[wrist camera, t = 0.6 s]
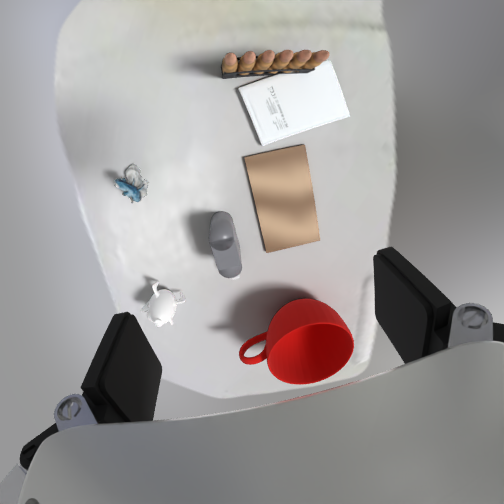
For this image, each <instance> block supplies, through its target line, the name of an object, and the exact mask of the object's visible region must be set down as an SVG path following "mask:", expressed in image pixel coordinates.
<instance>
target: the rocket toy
mask: <svg viewBox="0 0 504 504" xmlns="http://www.w3.org/2000/svg"><path fill="white" fill-rule="evenodd" d="M158 284H159V282H156V283H155V284H153V285H152V288H153V291H154V294H153V295H152V297H151V299H150V300H149V301H148V302H147V303H146V305H145V306H144V307H143V308H142V310H141V312H146V311H148V312H147V318H148V319H149V320H150V321H152V322H154V324H155V325H156V326H157V327H160V326H162V325H163V324H165V323H167V322H168V321H169V322H170V324H171V325H173V316H174V314H175V312H176V308H177V304H180V303H184V302H185V301H186V299H185V297H184V295H183V293H182V292H180V294H181V298H180V299H178V300H176V298H175V296H174V294H173V293H172V292H171V291H169V290H166V289H162V290H159V291H157V285H158ZM148 305H149V307H148Z"/></svg>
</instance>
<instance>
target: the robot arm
mask: <svg viewBox="0 0 504 504" xmlns="http://www.w3.org/2000/svg"><path fill="white" fill-rule="evenodd" d="M373 262H374V286H375V315H376V319H377V321H378V322H379V324H380V325H381V327H382V328H383V330H384V332H385V333H386V334H387V336H388V338H389V339H390V341H391V342H392V344H393V345H394V347H395V349H396V350H397V352H398V353H399V355H400V356H401V358H402V360H403V361H404V363H405V364H404V365H401V366H399V367H396V368H394V369H390V370H388V371H385V372H382V373H379V374H376V375H373V376H370V377H367V378H364V379H361V380H358V381H355V382H352V383H348V384H345V385H342V386H338V387H335V388H331V389H328V390H324V391H321V392H317V393H313V394H309V395H305V396H301V397H297V398H293V399H289V400H285V401H280V402H276V403H271V404H266V405H262V406H256V407H251V408H246V409H240V410H235V411H229V412H223V413H216V414H209V415H202V416H194V417H186V418H177V419H167V420H155V421H153V417H154V411H155V406H156V400H157V395H158V390H159V385H160V379H161V374H162V366H161V363H160V361H159V360H158V358H157V356H156V354H155V353H154V351H153V349H152V347H151V345H150V344H149V342H148V340H147V338H146V336H145V334H144V333H143V331H142V329H141V327H140V325H139V323H138V321H137V319H136V317H135V316H134V315H131V314H130V313H129V312H124V313H119V314H115V315H114V316H113V318H112V320H111V322H110V324H109V326H108V328H107V330H106V332H105V334H104V336H103V339H102V341H101V343H100V345H99V347H98V349H97V351H96V354H95V356H94V358H93V360H92V363H91V365H90V367H89V370H88V372H87V374H86V376H85V379H84V381H83V383H82V386H81V389H82V390H83V391H84V392H83V394H82V395H79V394H72V395H69V396H67V397H65V398H63V399H62V400H61V401H60V402H59V403H58V404H57V406H56V408H55V411H54V418H55V421H56V423H55V424H53V425H52V426H51V427H49V428H48V429H47V430H45V431H44V432H42V433H41V434H40V435H38V436H37V437H36V438H34V439H33V440H31V441H30V442H28V443H27V444H26V445H25V446H24V447H23V449H22V451H21V454H20V463H21V465H20V466H19V465H18V464H16V466H15V467H14V468H13V469H12V470H11V471H10V472H9V474H8V475H7V476H6V477H5V478H4V480H3V481H2V482H1V483H0V504H504V324H499V323H493V318H492V314H491V313H490V311H489V310H488V309H486V308H485V307H484V306H482V305H479V304H475V303H466V304H462V305H460V306H459V307H455V305H454V304H453V303H452V302H451V301H450V300H449V299H448V298H447V297H446V296H445V295H444V294H443V293H442V292H441V291H440V290H439V289H438V288H437V287H436V286H435V285H434V284H433V283H431V282H430V281H429V280H428V279H427V278H426V277H425V276H424V275H423V274H422V273H421V272H420V271H419V270H418V269H416V268H415V267H414V266H413V265H412V264H411V263H410V262H409V261H408V260H407V259H405V258H404V257H403V256H402V255H401V254H400V253H399V252H398V251H396V250H395V249H394V248H393V247H388V248H385V249H381V250H378V251H377V255H374V257H373Z"/></svg>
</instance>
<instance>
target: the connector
mask: <svg viewBox="0 0 504 504" xmlns="http://www.w3.org/2000/svg"><path fill="white" fill-rule="evenodd" d="M209 243H210V246H211V249H212V252H213V255H214V258H215V262H216V265H217V268H218V271H219V273H220V274H221V275H222V276H224V277H226V278H231V280H233V279H238V278H240V275H239V274H240V272H241V270H242V264H241V254H240V245H239V241H238V238H237V234H236V230H235V226H234V223H233V219H232V217H231V215H230V214H228V213H227V212H223V211H221V212H217V213H215V214H214V215H213V217H212V219H211V226H210V235H209Z"/></svg>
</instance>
